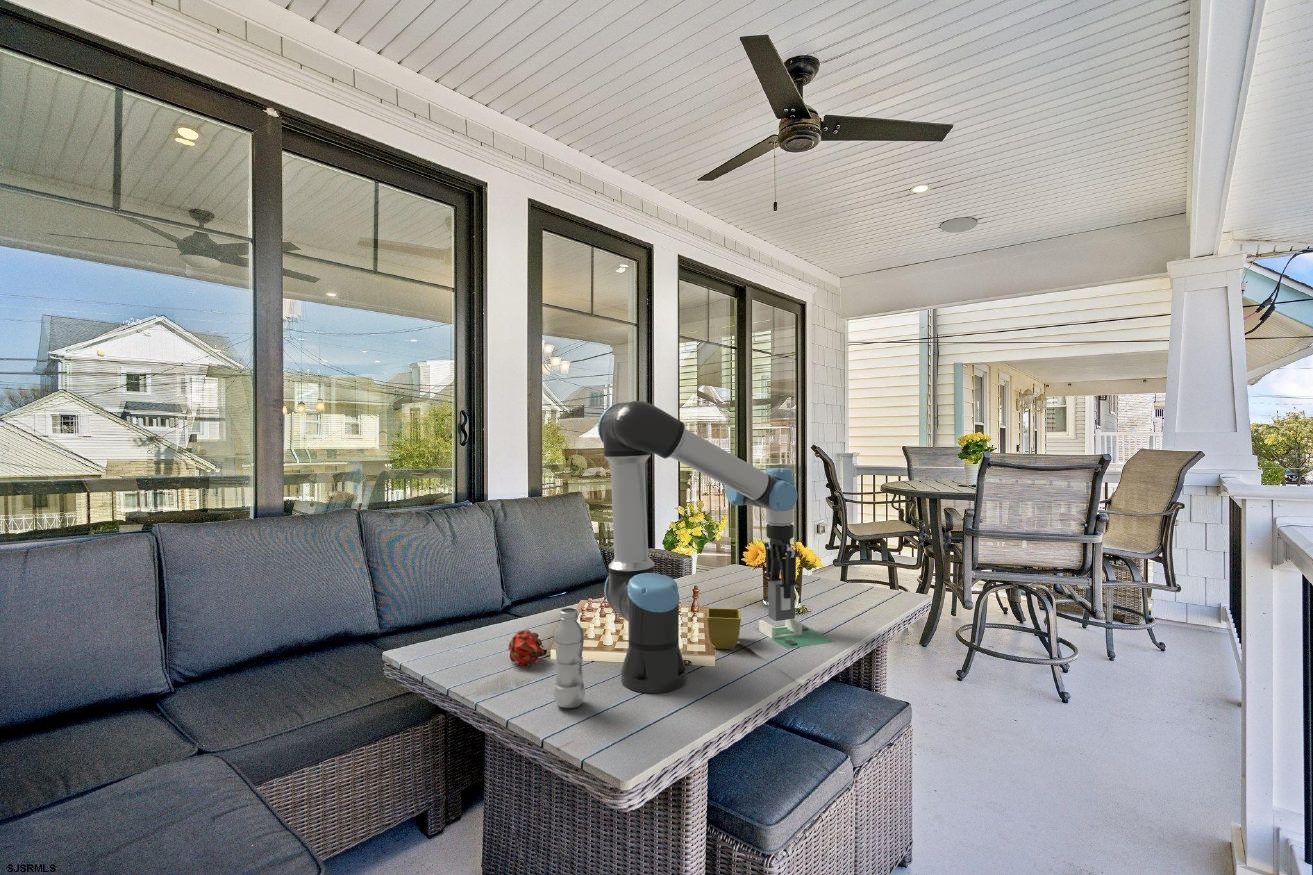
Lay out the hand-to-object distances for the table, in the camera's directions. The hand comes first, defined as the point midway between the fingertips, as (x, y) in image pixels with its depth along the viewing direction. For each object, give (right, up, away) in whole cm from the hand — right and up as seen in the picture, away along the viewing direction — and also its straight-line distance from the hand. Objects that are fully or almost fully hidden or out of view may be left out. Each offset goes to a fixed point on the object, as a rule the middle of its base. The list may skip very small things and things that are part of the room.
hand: (780, 607), depth 170 cm
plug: (0, -3, 0) cm, 3 cm away
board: (+3, -8, -2) cm, 9 cm away
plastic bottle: (-53, -9, -42) cm, 68 cm away
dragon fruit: (-67, -9, -18) cm, 70 cm away
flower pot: (-17, -9, -7) cm, 20 cm away
